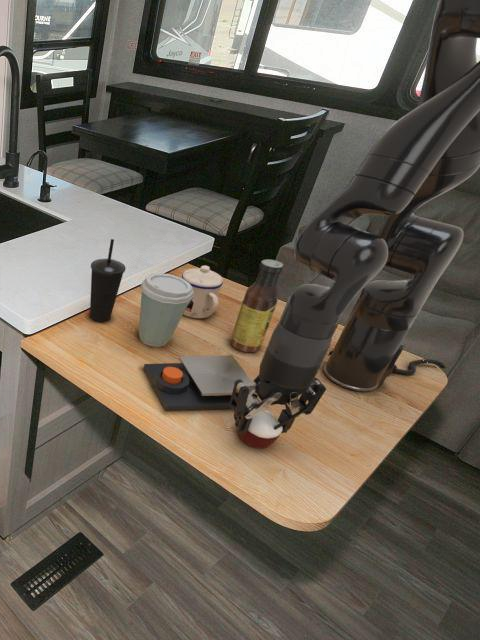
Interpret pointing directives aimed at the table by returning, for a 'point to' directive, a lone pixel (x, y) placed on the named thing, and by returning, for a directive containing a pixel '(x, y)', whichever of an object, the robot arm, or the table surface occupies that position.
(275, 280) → the sauce bottle
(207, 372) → the weighing plate
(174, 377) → the power button
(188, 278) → the teacup with lid
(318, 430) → the table surface
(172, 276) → the disposable coffee cup
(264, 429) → the cocoa
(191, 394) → the scale
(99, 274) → the drinking cup
